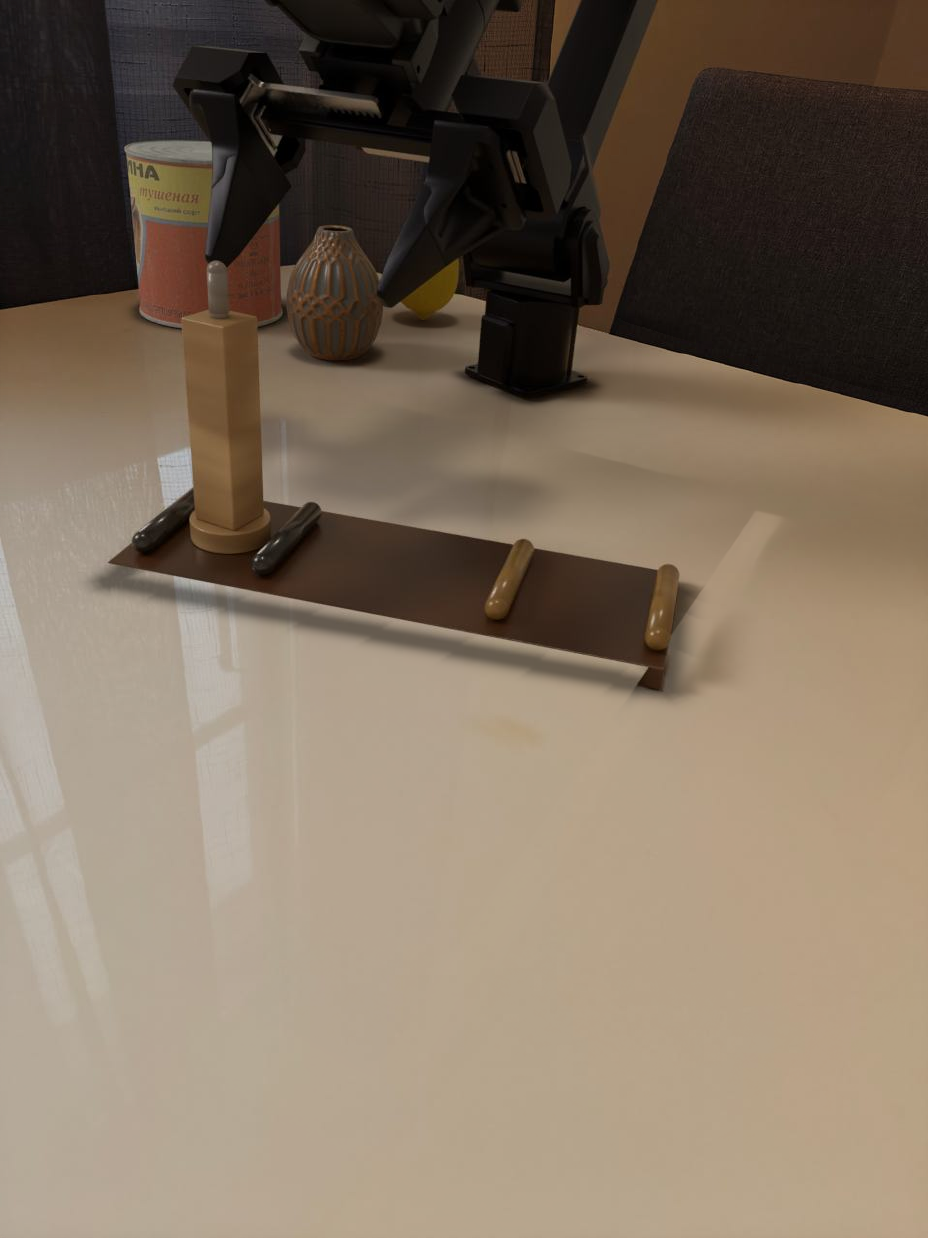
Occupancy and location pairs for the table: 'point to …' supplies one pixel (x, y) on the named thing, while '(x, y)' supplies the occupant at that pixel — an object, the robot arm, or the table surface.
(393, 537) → the board
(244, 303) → the canned food
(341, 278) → the vase
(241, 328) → the wooden tall post
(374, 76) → the robot arm
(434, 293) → the lemon
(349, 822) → the table surface
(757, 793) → the table surface
